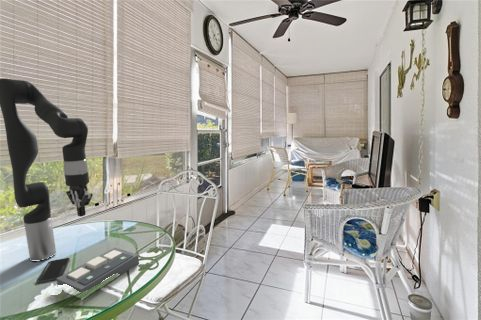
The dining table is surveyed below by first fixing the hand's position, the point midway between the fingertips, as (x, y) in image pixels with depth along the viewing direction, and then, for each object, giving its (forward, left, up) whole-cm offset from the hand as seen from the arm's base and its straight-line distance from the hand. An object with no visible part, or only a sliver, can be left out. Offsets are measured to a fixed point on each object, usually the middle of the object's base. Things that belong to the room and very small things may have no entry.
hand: (81, 215), depth 99 cm
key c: (+6, +7, -21) cm, 23 cm away
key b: (+6, 0, -20) cm, 21 cm away
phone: (-12, -6, -24) cm, 27 cm away
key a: (+6, -7, -21) cm, 23 cm away
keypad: (+8, 0, -23) cm, 24 cm away
